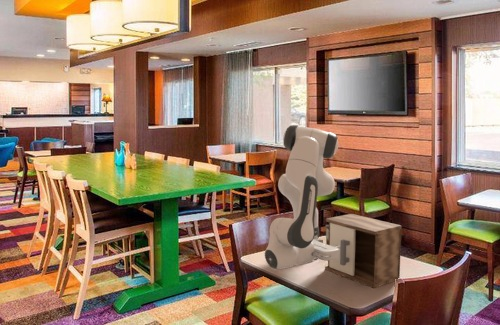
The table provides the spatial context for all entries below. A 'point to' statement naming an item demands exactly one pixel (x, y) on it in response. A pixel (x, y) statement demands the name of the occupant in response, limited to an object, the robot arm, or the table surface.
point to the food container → (327, 234)
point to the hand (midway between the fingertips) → (330, 244)
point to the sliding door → (343, 248)
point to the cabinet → (372, 249)
